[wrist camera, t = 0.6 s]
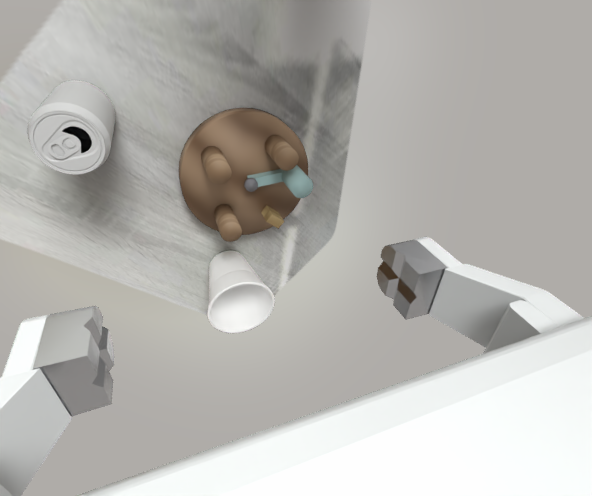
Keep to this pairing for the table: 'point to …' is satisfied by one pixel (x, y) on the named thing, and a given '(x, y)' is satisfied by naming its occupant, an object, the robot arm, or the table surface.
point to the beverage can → (73, 128)
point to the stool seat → (239, 171)
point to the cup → (236, 294)
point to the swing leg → (292, 179)
